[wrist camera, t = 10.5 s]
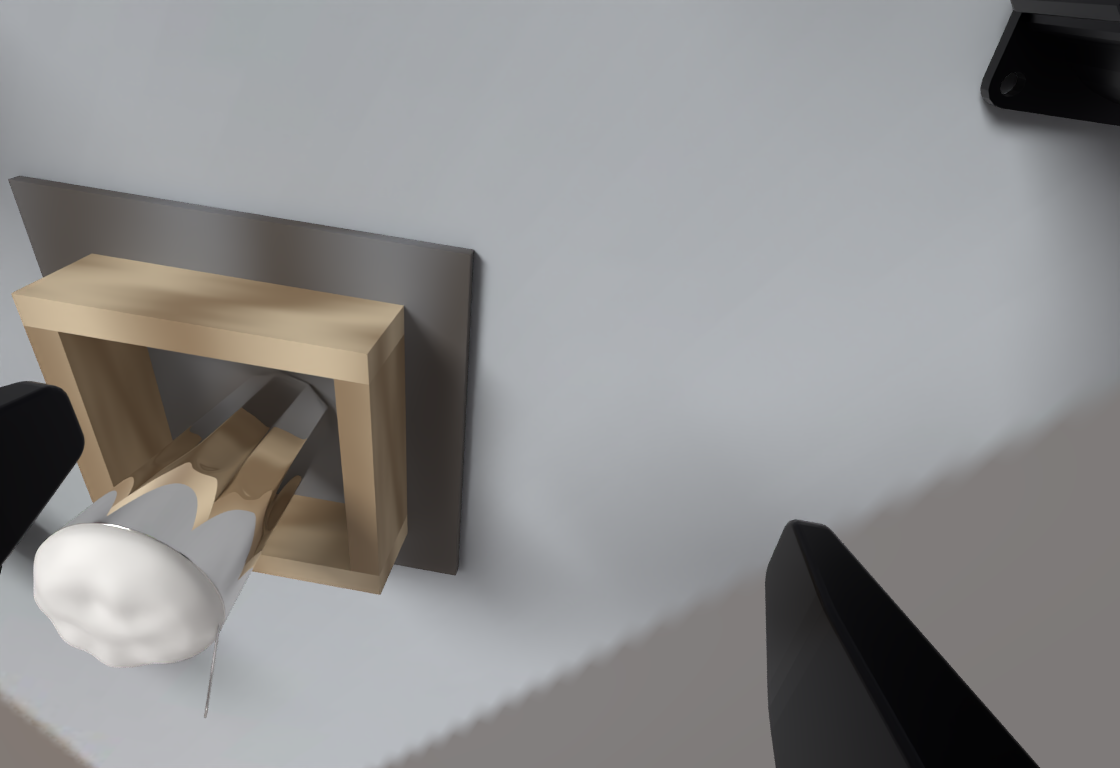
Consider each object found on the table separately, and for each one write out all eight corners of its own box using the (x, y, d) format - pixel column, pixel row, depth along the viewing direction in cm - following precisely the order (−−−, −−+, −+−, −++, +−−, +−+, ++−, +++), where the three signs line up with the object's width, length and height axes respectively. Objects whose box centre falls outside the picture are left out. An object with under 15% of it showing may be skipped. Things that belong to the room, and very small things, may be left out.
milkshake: (355, 485, 24) (196, 758, 16) (217, 430, 23) (-27, 684, 15) (386, 397, 22) (217, 664, 13) (232, 332, 21) (-49, 570, 12)
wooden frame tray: (473, 249, 19) (441, 298, 16) (458, 567, 26) (435, 639, 24) (19, 175, 19) (-91, 210, 16) (134, 509, 27) (73, 572, 24)
